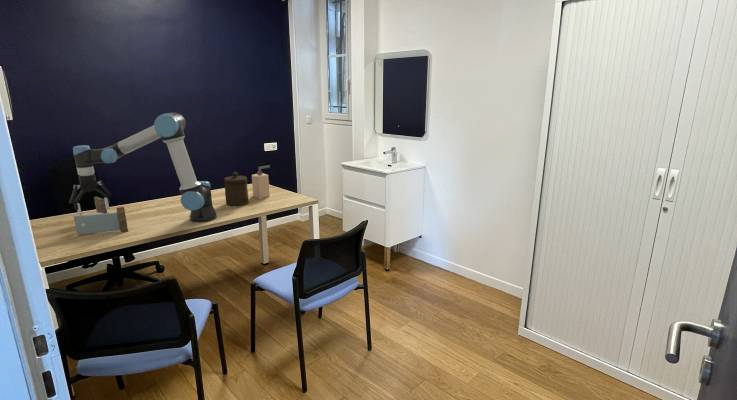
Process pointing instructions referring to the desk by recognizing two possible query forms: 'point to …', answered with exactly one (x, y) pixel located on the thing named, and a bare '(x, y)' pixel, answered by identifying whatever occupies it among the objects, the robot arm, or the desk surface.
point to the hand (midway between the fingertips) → (94, 211)
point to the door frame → (120, 211)
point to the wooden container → (236, 190)
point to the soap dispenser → (260, 183)
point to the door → (96, 223)
